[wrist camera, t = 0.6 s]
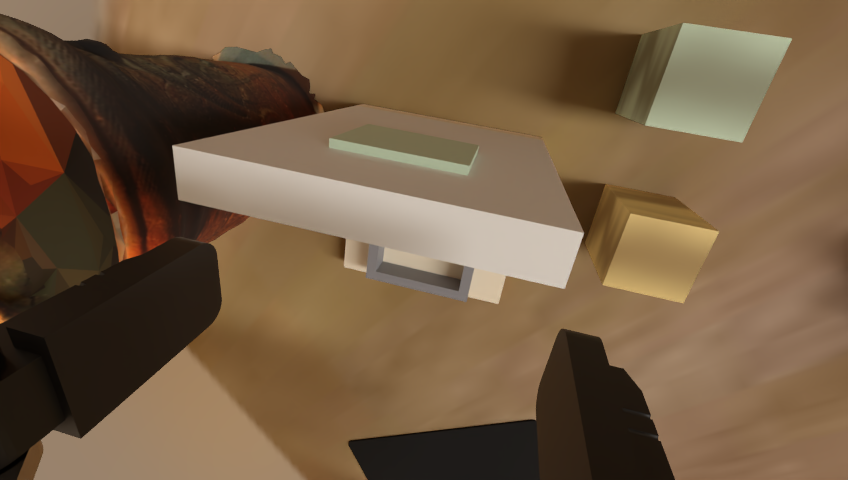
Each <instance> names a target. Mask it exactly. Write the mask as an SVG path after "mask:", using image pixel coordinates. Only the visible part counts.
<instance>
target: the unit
mask: <svg viewBox="0 0 848 480" xmlns="http://www.w3.org/2000/svg"><path fill="white" fill-rule="evenodd" d="M172 148H173V156H174V165H175V174H176V183H177V192H178V200H181V201H186V202H190V203H194V204H199V205H203V206H207V207H212V208H216V209H220V210H225V211H229V212H233V213H238V214H242V215H246V216H251V217H255V218H259V219H264V220H268V221H272V222H277V223H281V224H285V225H290V226H294V227H298V228H303V229H307V230H311V231H316V232H320V233H324V234H329V235H333V236H337V237H342V238H346V246H345V259H344V267H346V268H350V269H354V270H358V271H363V272H366V278H369V279H374V280H378V281H382V282H386V283H390V284H394V285H398V286H402V287H407V288H411V289H415V290H419V291H423V292H427V293H431V294H435V295H440V296H444V297H448V298H452V299H456V300H460V301H464V302H467V297H471V298H475V299H479V300H483V301H487V302H492V303H496V304H498V303H499V299H500V296H501V292H502V288H503V285H504V281H505V277H506V276H511V277H515V278H519V279H524V280H528V281H532V282H537V283H541V284H545V285H550V286H554V287H558V288H563V289H565V286H566V283H567V281H568V278H569V275H570V272H571V269H572V266H573V263H574V261H575V258H576V255H577V252H578V249H579V246H580V243H581V240H582V238H583V235H584V232H583V229H582V227H581V225H580V223H579V220H578V218H577V216H576V214H575V211H574V209H573V207H572V205H571V202H570V200H569V198H568V196H567V193H566V191H565V189H564V187H563V184H562V182H561V180H560V177H559V175H558V173H557V171H556V168H555V166H554V164H553V162H552V159H551V157H550V155H549V153H548V150H547V148H546V146H545V144H544V141H543V139H542V137H538V136H533V135H527V134H522V133H517V132H511V131H506V130H501V129H495V128H490V127H484V126H479V125H474V124H468V123H463V122H458V121H452V120H447V119H441V118H436V117H431V116H425V115H420V114H414V113H409V112H404V111H398V110H393V109H388V108H382V107H377V106H371V105H366V104H361V105H356V106H351V107H347V108H342V109H338V110H333V111H328V112H324V113H319V114H315V115H310V116H305V117H301V118H296V119H292V120H287V121H282V122H278V123H273V124H269V125H264V126H259V127H255V128H250V129H246V130H241V131H236V132H232V133H227V134H223V135H218V136H213V137H209V138H204V139H200V140H195V141H190V142H186V143H181V144H177V145H172Z"/></svg>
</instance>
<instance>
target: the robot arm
mask: <svg viewBox="0 0 848 480" xmlns="http://www.w3.org/2000/svg"><path fill="white" fill-rule="evenodd" d="M221 302H222V297H221V288H220V279H219V269H218V260H217V252H216V249H215V248H214V246H213V245H211V244H208V243H204V242H200V241H196V240H192V239H187V238H183V237H175V238H172V239H170V240H169V241H167V242H165V243H163V244H161V245H159V246H157V247H155V248H153V249H151V250H150V251H148V252H146V253H144V254H142V255H139V256H135V257H132V258H128V259H125V260H122V261H121V262H119V263H117V264H115V265H113V266H111V267H109V268H107V269H105V270H103V271H101V272H100V275H96V274H95V275H93V276H92V277H90V278H88V279H86V280H84V281H82V282H81V284H80V285H79V286H78V285H74V286H72V287H70V288H68V289H66V290H64V291H63V292H61V293H59V294H57V295H55V296H53V297H51V298H49V299H47V300H45V301H43V302H41V303H39V304H37V305H35V306H34V307H32V308H30V309H28V310H26V311H24V312H22V313H20V314H18V315H16V316H14V317H12V318H10V319H8V320H6V321H5V322H3V323H1V324H0V480H33V479H34V476H35V473H36V471H37V468H38V465H39V463H40V460H41V457H42V454H43V445H42V442H41V439H42V438H43V437H45V436H46V435H47V434H48V433H50V432H51V431H52V430H56V431H59V432H62V433H65V434H68V435H72V436H75V437H78V438H82V437H83V436H84V435H85V434H87V433H88V432H89V431H90V430H91V429H92V428H94V427H95V426H96V425H97V424H98V423H99V422H100V421H102V420H103V419H104V418H105V417H106V416H107V415H108V414H110V413H111V412H112V411H113V410H114V409H115V408H116V407H118V406H119V405H120V404H121V403H122V402H123V401H124V400H125V399H126V398H128V397H129V396H130V395H131V394H132V393H133V392H135V391H136V390H137V389H138V388H139V387H140V386H141V385H143V384H144V383H145V382H146V381H147V380H148V379H149V378H151V377H152V376H153V375H154V374H155V373H156V372H157V371H159V370H160V369H161V368H162V367H163V366H164V365H165V364H167V363H168V362H169V361H170V360H171V359H172V358H173V357H175V356H176V355H177V354H178V353H179V352H180V351H181V350H183V349H184V348H185V347H186V346H187V345H188V344H189V343H191V342H192V341H193V340H194V339H195V338H196V337H197V336H198V335H200V334H201V333H202V332H203V331H204V330H205V329H206V328H208V327H209V326H210V325H211V324H212V323H213V322H214V320H215V319H216V317H217V315H218V313H219V311H220V308H221ZM650 416H651V414H650V412H649V409H648V406H647V404H646V401H645V398H644V396H643V393H642V391H641V390H640V388H639V387H638V386H637V385H636V384H635V382H634V381H633V380H632V379H631V377H630V376H629V375H628V374H627V372H626V371H625V370H624V369H622V368H618V367H614V366H610V365H609V363H608V359H607V356H606V353H605V349H604V346H603V343H602V340H601V339H600V338H599V337H596V336H592V335H588V334H583V333H579V332H575V331H571V330H567V329H561V330H560V331H559V333H558V335H557V338H556V340H555V343H554V346H553V348H552V351H551V354H550V357H549V359H548V362H547V365H546V368H545V371H544V373H543V376H542V379H541V382H540V385H539V389H538V394H537V402H536V421H537V439H538V457H539V475H540V480H675V478H674V476H673V473H672V470H671V468H670V465H669V462H668V460H667V457H666V454H665V452H664V449H663V446H662V444H661V441H658V433H657V430H656V428H655V425H654V422H653V420H651V419H650Z"/></svg>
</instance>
